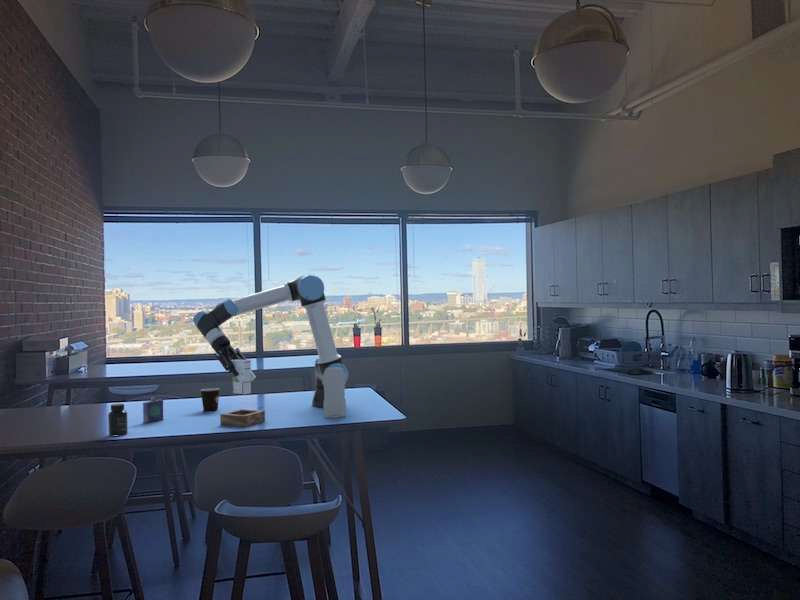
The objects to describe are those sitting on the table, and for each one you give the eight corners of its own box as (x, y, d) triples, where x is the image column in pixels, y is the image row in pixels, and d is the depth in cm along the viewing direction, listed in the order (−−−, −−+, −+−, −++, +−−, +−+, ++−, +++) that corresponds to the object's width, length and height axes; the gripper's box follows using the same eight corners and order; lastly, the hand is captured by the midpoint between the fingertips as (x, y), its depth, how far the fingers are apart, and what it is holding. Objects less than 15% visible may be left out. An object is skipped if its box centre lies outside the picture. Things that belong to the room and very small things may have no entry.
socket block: (241, 419, 276) (240, 408, 276) (264, 421, 270) (264, 410, 270) (220, 424, 264) (220, 414, 264) (244, 427, 259) (244, 416, 259)
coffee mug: (208, 412, 293) (208, 391, 293) (197, 411, 298) (196, 390, 298) (228, 408, 303) (228, 388, 302) (217, 407, 308) (217, 386, 308)
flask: (145, 423, 271) (144, 398, 271) (141, 422, 273) (141, 398, 273) (164, 420, 278) (164, 395, 278) (161, 419, 280) (160, 395, 280)
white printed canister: (251, 393, 269) (251, 359, 269) (243, 394, 263) (243, 360, 264) (240, 392, 271) (240, 358, 271) (231, 394, 266) (231, 359, 266)
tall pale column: (346, 415, 280) (345, 366, 280) (347, 417, 276) (346, 367, 276) (322, 416, 278) (321, 367, 277) (323, 418, 274) (322, 368, 273)
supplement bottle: (129, 432, 254) (128, 402, 253) (124, 436, 247) (124, 405, 247) (111, 433, 253) (111, 403, 252) (106, 437, 246) (105, 406, 246)
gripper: (228, 344, 283) (258, 382, 275) (197, 348, 266) (228, 389, 258) (237, 333, 280) (267, 371, 273) (207, 336, 263) (238, 376, 256)
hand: (248, 379), depth 266 cm, fingers closed on white printed canister, 6 cm apart
